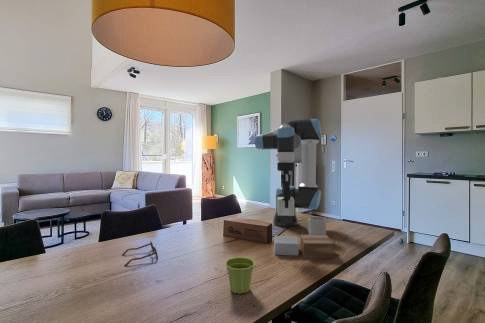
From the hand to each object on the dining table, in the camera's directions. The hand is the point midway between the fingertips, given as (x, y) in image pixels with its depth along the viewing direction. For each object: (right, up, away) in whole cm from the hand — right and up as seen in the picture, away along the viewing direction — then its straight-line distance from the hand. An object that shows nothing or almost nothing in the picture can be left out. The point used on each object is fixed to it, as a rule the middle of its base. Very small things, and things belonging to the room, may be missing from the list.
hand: (285, 213), depth 116 cm
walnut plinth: (+13, -17, -2) cm, 21 cm away
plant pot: (-20, -18, -33) cm, 43 cm away
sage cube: (0, 0, 0) cm, 0 cm away
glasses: (-63, -18, -6) cm, 66 cm away
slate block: (0, -17, 0) cm, 17 cm away
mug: (+18, -17, +17) cm, 30 cm away
